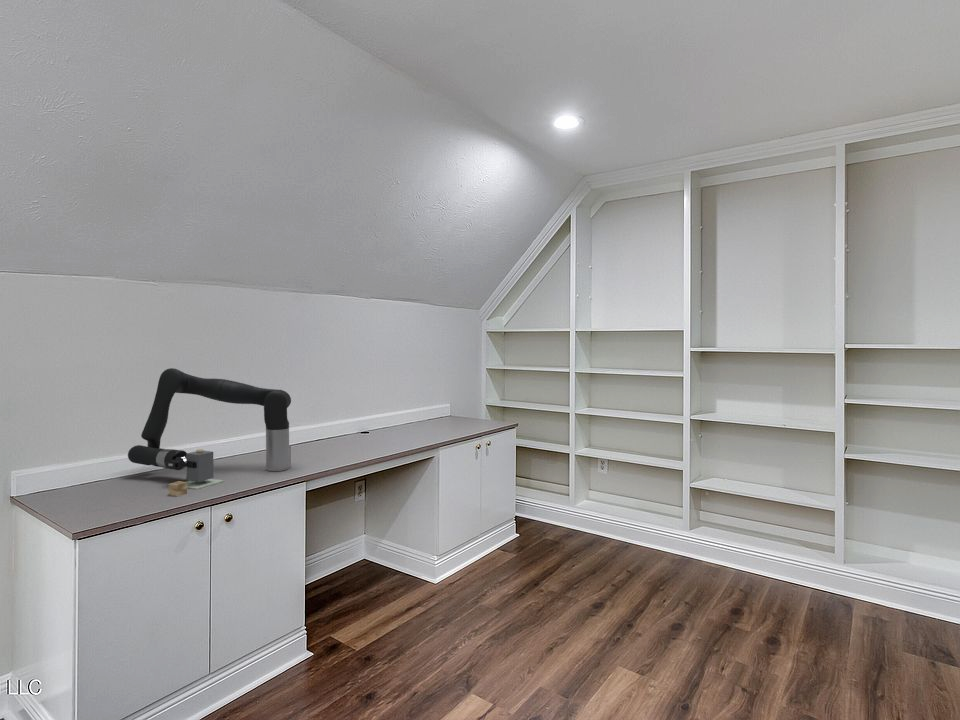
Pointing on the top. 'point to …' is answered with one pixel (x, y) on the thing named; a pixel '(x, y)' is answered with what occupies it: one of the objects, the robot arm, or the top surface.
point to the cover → (200, 465)
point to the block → (178, 488)
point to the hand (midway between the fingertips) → (203, 463)
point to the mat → (202, 483)
